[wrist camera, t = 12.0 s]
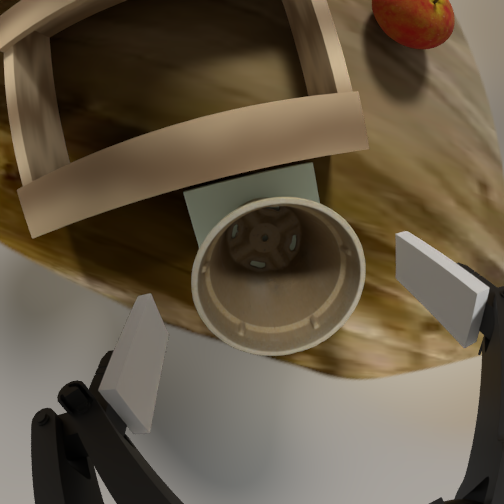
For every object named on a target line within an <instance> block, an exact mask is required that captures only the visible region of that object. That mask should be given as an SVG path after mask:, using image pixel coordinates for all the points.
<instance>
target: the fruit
mask: <svg viewBox="0 0 504 504" xmlns="http://www.w3.org/2000/svg"><path fill="white" fill-rule="evenodd" d="M372 10H373V13H374V16H375V19H376V21H377V22H378V24H379V26H380V27H381V28H382V30H383V31H384V32H385V33H386V34H387V35H388V36H389V37H390V38H391V39H393V40H394V41H396V42H398V43H399V44H402V45H404V46H407V47H410V48H414V49H430V48H434V47H437V46H439V45H441V44H442V43H444V42H445V41H446V40H447V39H448V38H449V37H450V35H451V34H452V32H453V29H454V13H453V9H452V6H451V4H450V2H449V1H448V0H372Z"/></svg>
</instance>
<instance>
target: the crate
mask: <svg viewBox="0 0 504 504" xmlns="http://www.w3.org/2000/svg"><path fill="white" fill-rule="evenodd" d="M124 1H127V0H21V1H19V2H18V3H16V4H15V5H14V6H12V7H11V8H10V9H8V10H7V11H6V12H4V13H3V14H2V15H0V52H4V75H5V89H6V99H7V108H8V115H9V122H10V129H11V134H12V140H13V145H14V150H15V155H16V160H17V164H18V168H19V173H20V177H21V181H22V184H23V187H21V188H19V189H18V190H17V192H18V196H19V199H20V203H21V206H22V209H23V212H24V216H25V219H26V222H27V225H28V228H29V230H30V233H31V236H32V239H33V238H35V237H38V236H40V235H43V234H45V233H48V232H51V231H53V230H56V229H58V228H61V227H64V226H66V225H69V224H72V223H75V222H77V221H80V220H83V219H86V218H88V217H91V216H94V215H97V214H100V213H103V212H106V211H109V210H112V209H115V208H118V207H121V206H124V205H127V204H130V203H134V202H137V201H140V200H143V199H147V198H150V197H153V196H157V195H160V194H163V193H167V192H170V191H174V190H177V189H181V188H185V187H188V186H192V185H196V184H199V183H203V182H207V181H211V180H215V179H219V178H223V177H227V176H231V175H235V174H239V173H244V172H248V171H252V170H257V169H261V168H266V167H271V166H275V165H280V164H285V163H290V162H295V161H300V160H305V159H311V158H316V157H322V156H327V155H333V154H339V153H345V152H352V151H358V150H365V149H369V144H368V138H367V132H366V126H365V121H364V116H363V111H362V106H361V101H360V97H359V92H358V91H357V92H353V91H352V87H351V83H350V79H349V74H348V71H347V67H346V63H345V59H344V55H343V52H342V48H341V45H340V41H339V38H338V35H337V31H336V28H335V25H334V22H333V19H332V16H331V13H330V10H329V7H328V4H327V1H326V0H282V2H283V5H284V8H285V11H286V15H287V18H288V21H289V24H290V28H291V31H292V34H293V38H294V41H295V45H296V49H297V52H298V56H299V60H300V63H301V67H302V71H303V75H304V79H305V83H306V87H307V92H308V96H307V97H300V98H293V99H286V100H280V101H274V102H269V103H263V104H258V105H253V106H248V107H243V108H238V109H234V110H229V111H225V112H221V113H216V114H212V115H208V116H204V117H201V118H197V119H193V120H189V121H186V122H182V123H179V124H175V125H172V126H169V127H165V128H162V129H159V130H156V131H153V132H150V133H147V134H144V135H141V136H138V137H135V138H132V139H129V140H127V141H124V142H121V143H118V144H116V145H113V146H110V147H108V148H105V149H103V150H100V151H98V152H95V153H93V154H90V155H88V156H86V157H83V158H81V159H79V160H76V161H74V162H72V163H70V161H69V157H68V153H67V149H66V144H65V140H64V135H63V131H62V126H61V121H60V116H59V110H58V105H57V98H56V92H55V85H54V78H53V70H52V60H51V50H50V37H51V36H53V35H55V34H57V33H58V32H60V31H62V30H64V29H66V28H68V27H69V26H71V25H73V24H75V23H77V22H79V21H81V20H83V19H85V18H87V17H89V16H91V15H94V14H96V13H98V12H100V11H103V10H105V9H107V8H109V7H112V6H114V5H117V4H119V3H122V2H124Z"/></svg>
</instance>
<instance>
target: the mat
mask: <svg viewBox="0 0 504 504" xmlns="http://www.w3.org/2000/svg"><path fill="white" fill-rule="evenodd" d="M183 193H184V197H185V201H186V204H187V208H188V211H189V215H190V218H191V222H192V225H193V229H194V232H195V236H196V239H197V242H198V246H199V248H200V246H201V244H202V243H203V241H204V239H205V238H206V236H207V235H208V234H209V232H210V231H211V230H212V229H213V228H214V227H215V226H216V225H217V224H218V223H219V222H220V221H221V220H222V219H223V218H224V217H225V216H227V215H228V214H229V213H231V212H232V211H234V210H236V209H237V208H238V207H239V206H241V205H242V204H244V203H246V202H248V201H250V200H253V199H257V198H273V197H298V198H304V199H308V200H312V201H314V202H317V203H320V201H319V195H318V189H317V183H316V178H315V172H314V167H313V163H312V162H306V163H301V164H296V165H291V166H286V167H281V168H277V169H272V170H267V171H263V172H258V173H254V174H249V175H245V176H241V177H237V178H232V179H228V180H224V181H220V182H216V183H212V184H208V185H204V186H201V187H197V188H193V189H189V190H186V191H184V192H183ZM265 208H270V209H275V210H279V206H277V207H272V206H271V207H265ZM237 226H238V225H235V226H234V228H233V232H232V238H234V237H235V235H236V233H237V232H238V231H237ZM262 239H263V241H266V240H267V239H268V237H267V236H266V235H265V236H263V238H262ZM295 245H296V235H293V238H292V243H291V244H290V250H294V248H295ZM250 264H251V265H252V266H256V267H259V268H262V267H265V263H262V262H257V261H251V263H250Z"/></svg>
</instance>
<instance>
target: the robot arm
mask: <svg viewBox="0 0 504 504" xmlns="http://www.w3.org/2000/svg"><path fill="white" fill-rule="evenodd" d="M396 279H397V280H398V281H399V282H400V283H401V284H402V285H403V286H404V287H405V288H406V289H407V290H408V291H409V292H410V293H411V294H412V295H413V296H414V297H415V298H416V299H417V300H418V301H419V302H420V303H421V304H422V305H423V306H424V307H425V308H426V309H427V310H428V311H429V312H430V313H431V314H432V315H433V316H434V317H435V318H436V319H437V320H438V321H439V322H440V323H441V324H442V325H443V326H444V327H445V328H446V329H447V330H448V331H449V332H450V334H451V335H452V336H453V337H454V338H455V339H456V340H457V341H458V342H459V343H460V344H461V346H462V347H463V348H466V347H468V346H469V345H471V344H473V343H475V342H476V341H477V337H478V334H479V331H480V332H482V333H483V334H484V337H483V341H482V344H481V347H480V350H479V353H478V355H480V354H481V351H482V371H481V386H480V397H479V406H478V414H477V421H476V428H475V434H474V439H473V445H472V450H471V454H470V458H469V463H468V467H467V471H466V475H465V477H464V480H463V482H462V484H461V486H460V488H459V490H458V491H457V494H456V496H455V499H454V500H449V501H445V502H443V499H442V498H439V499H437V500H435V501H433V502H432V503H429V504H504V286H502V287H499V288H497V287H496V286H494V285H493V284H492V283H490V282H489V281H488V280H486V279H485V278H484V277H482V276H480V275H479V274H478V273H477V272H474V270H472V269H471V268H469V267H468V266H466V265H463V264H461V263H455V262H454V261H452V260H451V259H449V258H448V257H446V256H445V255H443V254H442V253H440V252H439V251H437V250H436V249H434V248H433V247H431V246H430V245H428V244H427V243H425V242H424V241H422V240H421V239H419V238H418V237H416V236H414V235H413V234H411V233H410V232H408V231H404V232H401V233H397V234H396ZM168 339H169V333H168V331H167V329H166V327H165V324H164V322H163V320H162V318H161V316H160V313H159V311H158V309H157V306H156V304H155V302H154V299H153V297H152V295H151V293H149V294H145V295H140V296H138V297H137V299H136V301H135V303H134V305H133V308H132V310H131V312H130V314H129V317H128V319H127V321H126V323H125V326H124V328H123V330H122V332H121V335H120V337H119V339H118V342H117V344H116V346H115V349H114V350H113V351H108V352H107V353H106V354H105V356H104V357H103V358H102V359H101V361H100V364H99V366H98V369H97V371H96V373H95V374H96V375H95V376H94V378H93V380H92V383H91V385H90V388H89V389H88V388H87V387H86V385H85V384H84V383H83V382H82V381H72V382H70V383H68V384H66V385H65V386H64V387H63V388H62V389H61V390H60V392H59V394H58V402H59V403H60V404H61V405H62V407H64V409H65V410H66V411H67V413H64V414H61V415H57V414H56V413H55V412H54V411H53V410H52V409H50V408H45V409H42V410H40V411H38V412H37V413H36V414H35V416H34V418H33V419H32V425H31V457H32V477H33V488H34V498H35V504H104V502H103V499H102V495H101V492H100V488H99V485H98V481H97V477H96V473H95V469H94V466H95V468H96V470H97V472H98V474H99V475H100V477H101V479H102V481H103V482H104V483H105V486H106V487H107V489H108V491H109V492H110V494H111V495H112V497H113V498H114V500H115V501H116V503H117V504H184V503H182V502H181V500H180V499H179V498H178V497H177V496H176V495H175V494H174V493H173V492H172V491H171V490H170V489H169V487H168V486H167V485H166V484H165V483H164V482H163V481H162V479H161V478H160V477H159V476H158V475H157V474H156V472H155V471H154V470H153V469H152V468H151V466H150V465H149V464H148V463H147V461H146V460H145V459H144V458H143V456H142V455H141V454H140V452H139V451H138V450H137V449H136V447H135V446H134V444H133V443H132V442H131V440H130V439H129V437H127V435H126V434H125V431H126V427H128V428H129V429H130V430H131V431H132V433H133V434H147V433H150V431H151V425H152V419H153V414H154V408H155V402H156V397H157V392H158V386H159V382H160V376H161V371H162V367H163V361H164V357H165V352H166V348H167V343H168Z"/></svg>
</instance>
